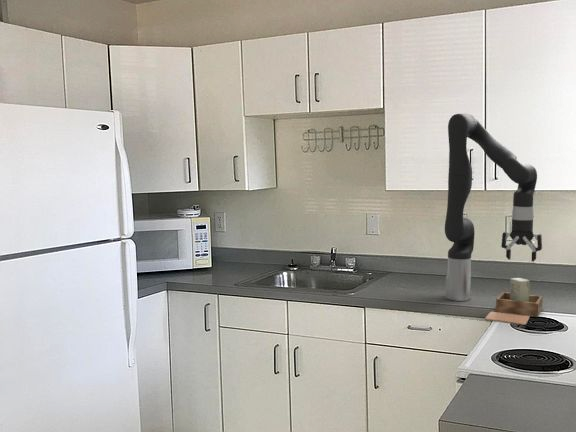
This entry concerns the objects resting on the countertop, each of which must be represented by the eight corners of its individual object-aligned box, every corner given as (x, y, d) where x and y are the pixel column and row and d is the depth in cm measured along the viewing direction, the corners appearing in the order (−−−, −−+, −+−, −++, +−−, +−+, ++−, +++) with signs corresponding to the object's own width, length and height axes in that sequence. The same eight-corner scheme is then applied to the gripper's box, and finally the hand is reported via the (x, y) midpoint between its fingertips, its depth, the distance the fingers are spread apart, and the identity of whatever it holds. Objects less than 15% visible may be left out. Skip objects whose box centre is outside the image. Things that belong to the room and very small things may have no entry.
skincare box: (529, 312, 238) (530, 280, 237) (519, 313, 237) (520, 281, 235) (518, 307, 244) (519, 277, 243) (509, 308, 243) (510, 277, 241)
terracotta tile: (484, 319, 229) (485, 318, 229) (490, 312, 238) (490, 311, 238) (525, 325, 223) (525, 323, 223) (529, 317, 231) (529, 316, 231)
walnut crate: (495, 311, 239) (496, 299, 238) (501, 304, 249) (502, 291, 249) (537, 317, 232) (538, 303, 231) (542, 308, 242) (542, 296, 241)
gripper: (500, 218, 236) (499, 260, 238) (541, 220, 229) (539, 263, 231) (504, 215, 243) (503, 256, 245) (544, 217, 236) (542, 260, 238)
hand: (521, 260), depth 238 cm, fingers open, 8 cm apart
